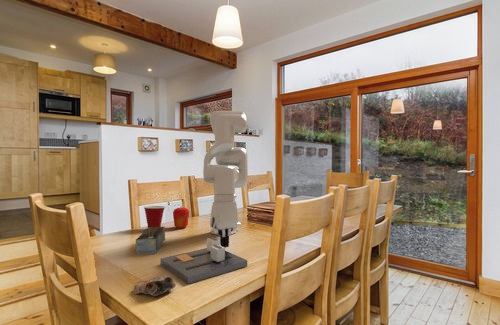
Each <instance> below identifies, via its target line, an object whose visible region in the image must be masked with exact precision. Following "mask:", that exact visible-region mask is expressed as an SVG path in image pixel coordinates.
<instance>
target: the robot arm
mask: <svg viewBox="0 0 500 325" xmlns="http://www.w3.org/2000/svg"><path fill="white" fill-rule="evenodd" d="M209 122H210V128H211V130H212V132H213V135H214V144H212V145H211V147H210V148H209V149H208V150H207V151H206V153H205V155H204V158H203V170H202V173H203V180H204V181H205V183H207V184H212V186H213V201H212V205H211V209H210V210H211V211H210V221H209V222H210V223H209V224H210V228H211V230H210V234H212V235H215V236H219V237H220V239H219V240H220V246H222V247H224V248H225V249H226V248H229V245H230V237H231V235H234V234H236V233H237V228H238V227H241V225H242V224H241V222H238V221H239V216H238V214H239V213H238V206H237V201H236V198H238V197H237V196H238V195H237V194H236V193H235V192H236V191H235V190H236V189H242V188H245V187H247V186H248V183H249V181H248V180H249V179H248V177H249V175H248V173H249V172H248V170H249V169H248V166H249V165H248V152H247V150H246V148H244V147H242V146H240V147H239V146H237V147H236V146H235V133H237V134H241V133H242V134H243V133H246V132H247V130H248V119H247V115H246V113H245V112H244V111H241V110H215V111H212V112H211V113H210V116H209ZM213 159H215V163H216V164H211V162H212V160H213ZM235 188H236V189H235Z"/></svg>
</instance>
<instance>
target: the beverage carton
mask: <svg viewBox="0 0 500 325" xmlns="http://www.w3.org/2000/svg"><path fill="white" fill-rule="evenodd" d="M165 240H166V227H165V226H161V227H148V226H147V228H146V229H145V230H144V231H143V232H142V233H140V235H139V236H138V237H137V238H136V239H135V254H136V255H148V254H150V255H151V254H152V255H153V254H154V255H155V254H157V253H158V251H160V250H159V249H160V248H161V246H162V245H163V243H164V241H165Z"/></svg>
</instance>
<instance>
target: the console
mask: <svg viewBox="0 0 500 325" xmlns="http://www.w3.org/2000/svg"><path fill="white" fill-rule="evenodd" d="M160 265H161V266H162V267H163V268H165V269H167V270H168V271H169V272H171V274H173V275H174V276H176V277H177V278H179V279H180V280H181V281H183V282H184V283H186V284H187V285H190V284H193V283H197V282H199V281H204V280H207V279H210V278H213V277H216V276H220V275H224V274H227V273H230V272H232V271H236V270H239V269H242V268H247V267H248V260H247V259H245V258H243V257H241V256H240V255H239V256H238V255H236V254H234V253H232V252H230V251H227V250H225V260H222V261H218V262H216V261H215V260H213V259H211V251H209V250H207V247H206V248H201V249H196V250H192V251H188V252H183V253H179V254H174V255H169V256H166V257H165V256H164V257H160Z"/></svg>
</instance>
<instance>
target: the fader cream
mask: <svg viewBox="0 0 500 325" xmlns="http://www.w3.org/2000/svg"><path fill="white" fill-rule="evenodd" d="M214 244H216V245H219V246H221V244H220V239H219V238H216V237H213V236H209V238H206V248H207V250H209V251H211V247H212V246H214Z"/></svg>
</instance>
